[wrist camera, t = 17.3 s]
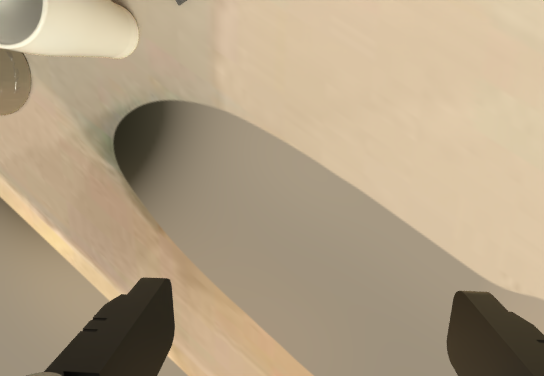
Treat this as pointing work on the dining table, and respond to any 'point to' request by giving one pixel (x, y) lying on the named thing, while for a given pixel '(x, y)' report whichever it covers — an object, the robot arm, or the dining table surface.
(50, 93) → the dining table surface
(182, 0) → the mat
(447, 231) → the dining table surface
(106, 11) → the drinking glass
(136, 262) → the dining table surface
